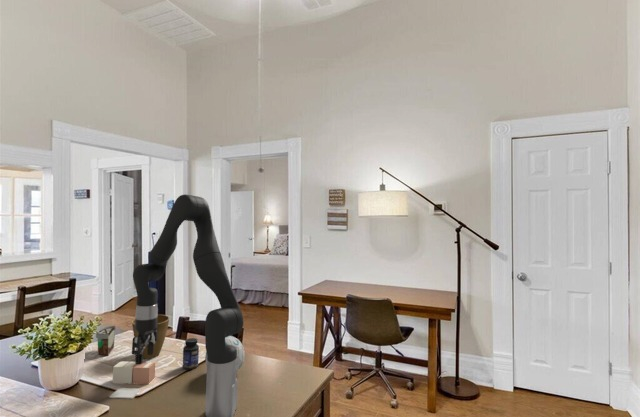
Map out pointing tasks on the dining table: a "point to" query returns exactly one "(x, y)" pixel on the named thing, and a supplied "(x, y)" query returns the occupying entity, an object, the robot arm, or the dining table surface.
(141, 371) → the pink block
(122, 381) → the cream rounded block
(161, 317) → the plant pot
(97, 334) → the food container
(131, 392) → the mat
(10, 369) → the dining table surface
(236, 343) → the puzzle ball
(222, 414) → the robot arm
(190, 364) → the pill bottle
